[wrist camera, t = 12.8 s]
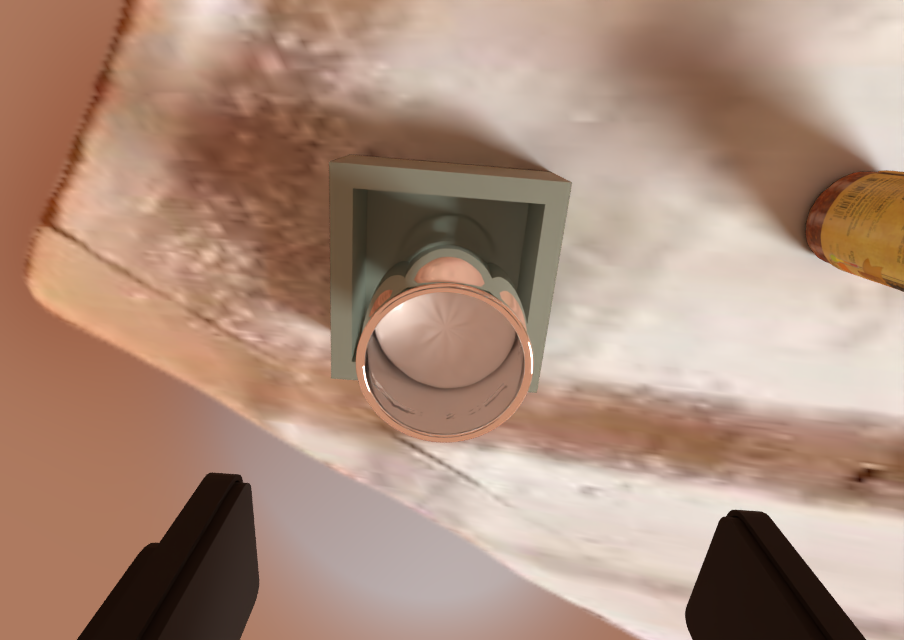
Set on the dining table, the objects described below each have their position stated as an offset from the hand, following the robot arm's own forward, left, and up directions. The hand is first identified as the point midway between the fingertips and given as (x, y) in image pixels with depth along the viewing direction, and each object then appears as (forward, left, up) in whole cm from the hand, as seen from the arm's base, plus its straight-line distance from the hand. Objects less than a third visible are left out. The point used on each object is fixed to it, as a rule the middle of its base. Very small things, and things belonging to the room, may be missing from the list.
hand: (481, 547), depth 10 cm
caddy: (+1, -1, -25) cm, 25 cm away
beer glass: (+1, -1, -24) cm, 24 cm away
